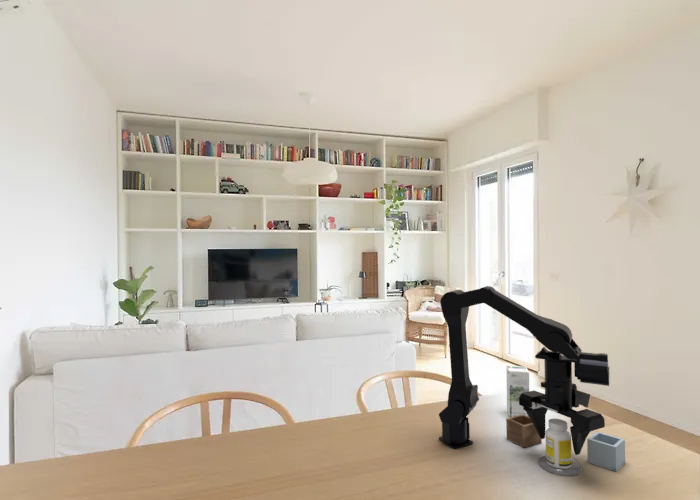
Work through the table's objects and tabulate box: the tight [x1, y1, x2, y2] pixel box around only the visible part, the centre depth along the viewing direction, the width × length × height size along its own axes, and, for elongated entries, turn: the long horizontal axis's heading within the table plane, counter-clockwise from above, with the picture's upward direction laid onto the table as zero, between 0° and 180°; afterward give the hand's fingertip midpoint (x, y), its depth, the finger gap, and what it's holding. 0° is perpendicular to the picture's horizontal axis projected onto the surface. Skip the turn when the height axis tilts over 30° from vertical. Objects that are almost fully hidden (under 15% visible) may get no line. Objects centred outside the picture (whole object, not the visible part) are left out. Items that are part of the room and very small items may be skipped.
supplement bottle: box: [545, 418, 573, 469], centre depth 100 cm, size 5×5×10 cm
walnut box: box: [505, 414, 543, 449], centre depth 113 cm, size 6×6×6 cm
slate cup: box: [586, 431, 626, 473], centre depth 101 cm, size 6×6×6 cm
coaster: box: [537, 454, 582, 477], centre depth 100 cm, size 9×9×1 cm
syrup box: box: [506, 365, 530, 418], centre depth 130 cm, size 6×6×14 cm
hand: (559, 446), depth 100 cm, fingers open, 9 cm apart
